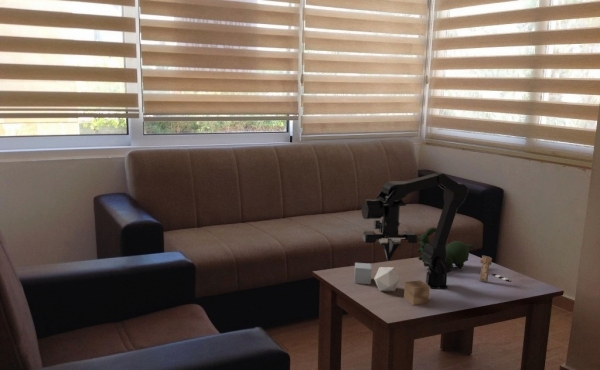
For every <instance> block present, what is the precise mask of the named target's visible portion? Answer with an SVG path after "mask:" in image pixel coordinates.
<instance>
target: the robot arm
mask: <svg viewBox="0 0 600 370" xmlns="http://www.w3.org/2000/svg"><path fill="white" fill-rule="evenodd" d="M436 186H438V187H440V188H441V189H442V190H443V195H442V196H443V203H444V204H443V207H442V210H441V214H440V217H439V220H438V223H437V225H436V228H437V229H436V232H434V234H433V235H434V236H433V238H432V241H430V244H429V245H428V244H425V247H424V251H423V252H422V253H421V255H422V254H423V260H424V261H425V262H426V265H427V268H428V269H427V271H426V277H425V284H426V285H428V286H429V287H430V289H448V288H449V287H448V285H447V282H448V281H447V280H448V274H450V272H451V270H452V269H451V267H450V266H449V265H448V264H447V263H446V255H447V253H446V246H447V242H448V239H449V235H450V233H451V229H452V227H453V223H454V221H455V217H456V214H457V211H458V208H459V207H461V206H462V204H463V203H464V202H465V200H466V199H467V196H468V193H469V189H468V187H467V186H466V185H465V184H463V183H462V182H461V183H460V182H457V181H455V180H453V179H452V178H450V177H448V175H446V174H445V173H441V172H439V171H437V172H434V173H432V174H431V173H430V174H427V175H423V176H420V177H415V178H413V179H407V180H402V181H401V180H394V181H393V180H390V181H387V182H385V183H384V184H383V186H382V189H381V190H380V191H379V193H378V194H377V195H376V197H375V199H369V198H367V199H365V200H364V203H363V204H362V206H361V216H362V218H363V219H364V220H374V221H373V231H371V230H370V231H369V230H364V231H363V233H362V235H361V236H362V238H361V239H362V240H363V241H364V243H366V244H374V243H376V242H378V243H379V245H381V246H382V247H383V251H384V253H385V257H386V260H387V261H391V259H392V257H393V255H394V253H395V251H396V250H397V249H398V248H399V247H400V246H402V243H401V241H402V240H406V241H407V242H408V243H409V244H418V241H419V240H418V239H419V238H418V237H419V236H418V235H417V234H416V233H415V232H414V231H412V230H411V231H403V232H402V233H401V234H399V227H400V224H401V223H400V212H401V207H403V206H404V207H405V206H406V205H407V203H405V202H404V200H403V199H404V198H406V197H407V196H409V195H410V194H412V193H413V192H414V193H415V192H417V191H423V190H426V189H429V188H432V187H436ZM376 219H377V220H376ZM378 219H381V220H378ZM374 230H378V232H379V233H376V232H375V231H374ZM380 233H381V234H380Z"/></svg>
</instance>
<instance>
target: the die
mask: <svg viewBox="0 0 600 370" xmlns="http://www.w3.org/2000/svg"><path fill="white" fill-rule="evenodd" d="M373 280H374V281H375V285H376V287H377V288H378V290H379V292H395V291H396V289H397V287H398V285H399V282H400V281H401V278H400V276H399V275H398V272H397V270H396V268H395V267H393V266H392V267H387V266H383V267H382V266H380V267H378V270H377V272H376V274H375V276H374V278H373Z"/></svg>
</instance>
